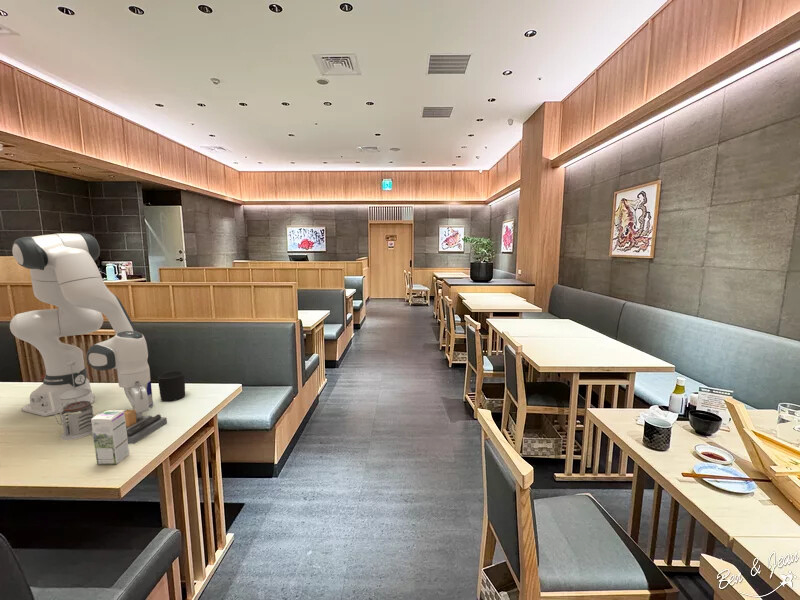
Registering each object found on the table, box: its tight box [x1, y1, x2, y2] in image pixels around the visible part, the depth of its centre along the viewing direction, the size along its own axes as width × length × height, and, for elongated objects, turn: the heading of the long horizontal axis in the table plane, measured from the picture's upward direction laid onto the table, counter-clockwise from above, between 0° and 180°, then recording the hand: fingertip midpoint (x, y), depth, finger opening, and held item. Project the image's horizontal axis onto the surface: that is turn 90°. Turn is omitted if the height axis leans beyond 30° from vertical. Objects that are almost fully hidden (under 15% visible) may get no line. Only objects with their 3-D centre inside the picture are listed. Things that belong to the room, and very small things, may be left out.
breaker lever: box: [124, 409, 136, 429], centre depth 121 cm, size 3×3×5 cm
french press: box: [54, 361, 94, 441], centre depth 120 cm, size 10×12×25 cm
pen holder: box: [157, 370, 186, 403], centre depth 150 cm, size 9×9×10 cm
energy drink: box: [145, 380, 154, 409], centre depth 140 cm, size 5×5×12 cm
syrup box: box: [91, 409, 130, 465], centre depth 106 cm, size 6×6×14 cm
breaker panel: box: [126, 413, 168, 445], centre depth 123 cm, size 14×14×4 cm
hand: (138, 416), depth 125 cm, fingers closed
